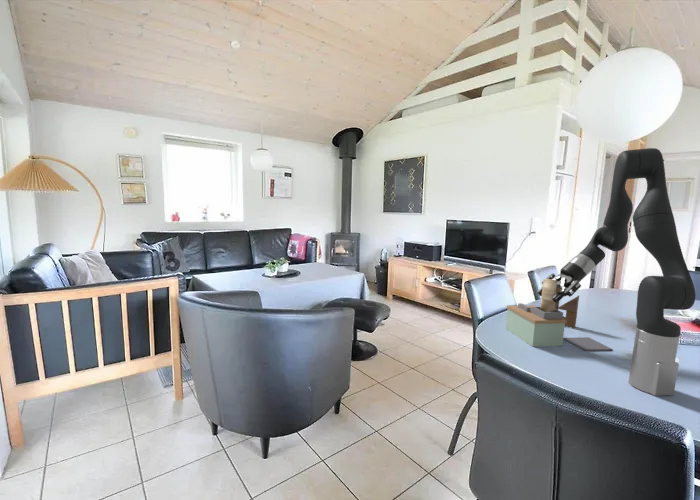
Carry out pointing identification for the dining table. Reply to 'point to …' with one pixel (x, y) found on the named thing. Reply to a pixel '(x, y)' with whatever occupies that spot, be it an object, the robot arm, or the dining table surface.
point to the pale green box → (536, 325)
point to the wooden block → (569, 310)
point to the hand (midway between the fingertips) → (546, 297)
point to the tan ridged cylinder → (548, 295)
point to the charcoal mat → (587, 344)
